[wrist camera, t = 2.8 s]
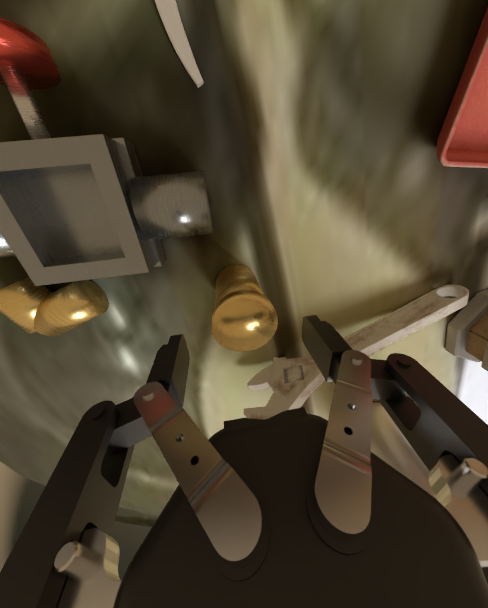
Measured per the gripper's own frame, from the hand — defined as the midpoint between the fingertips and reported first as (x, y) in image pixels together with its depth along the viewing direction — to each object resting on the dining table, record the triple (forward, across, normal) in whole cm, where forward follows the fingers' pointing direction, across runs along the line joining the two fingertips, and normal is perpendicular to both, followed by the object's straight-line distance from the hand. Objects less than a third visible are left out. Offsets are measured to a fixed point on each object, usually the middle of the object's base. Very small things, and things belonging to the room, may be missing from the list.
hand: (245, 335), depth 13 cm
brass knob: (+9, 0, 0) cm, 9 cm away
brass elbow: (+8, +15, +1) cm, 17 cm away
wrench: (+10, -13, +9) cm, 19 cm away
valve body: (+10, +11, -10) cm, 17 cm away
